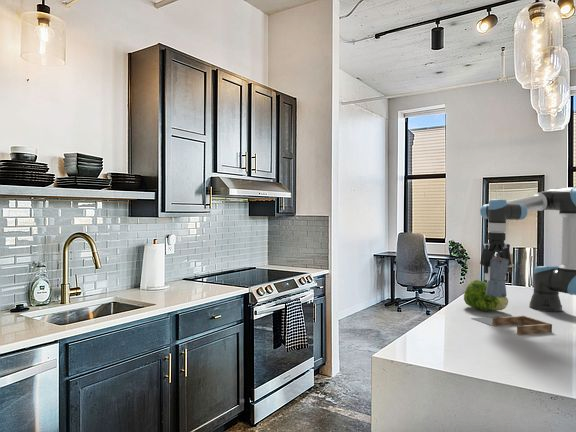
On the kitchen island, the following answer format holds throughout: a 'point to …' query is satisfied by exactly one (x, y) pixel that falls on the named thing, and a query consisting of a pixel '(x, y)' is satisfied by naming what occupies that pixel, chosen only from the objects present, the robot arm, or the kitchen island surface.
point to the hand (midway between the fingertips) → (495, 279)
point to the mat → (485, 320)
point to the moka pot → (497, 277)
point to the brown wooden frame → (529, 328)
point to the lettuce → (483, 297)
